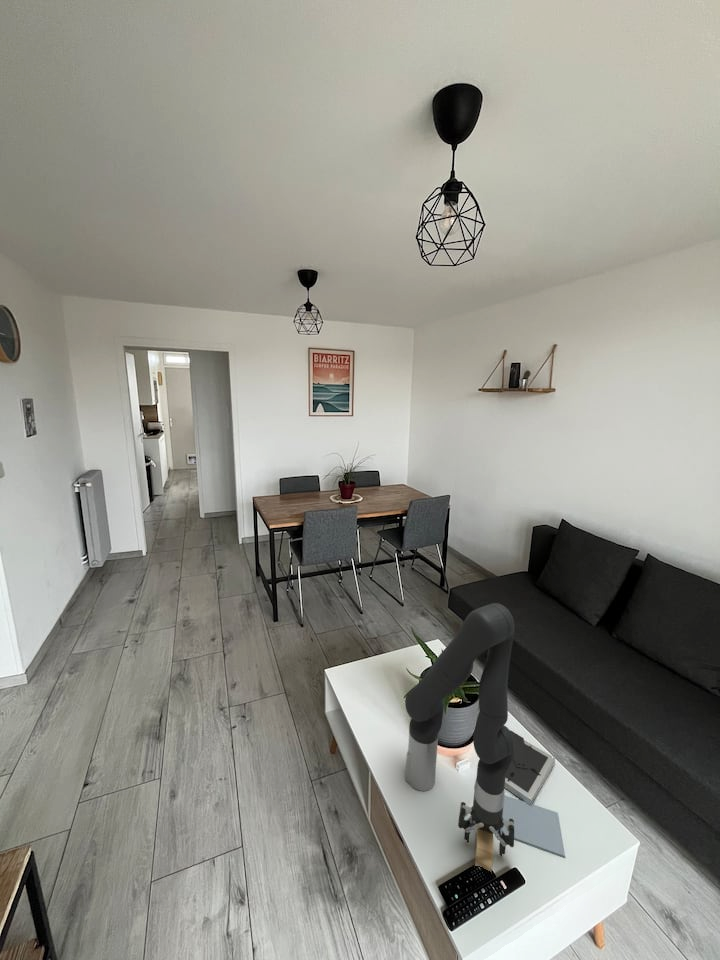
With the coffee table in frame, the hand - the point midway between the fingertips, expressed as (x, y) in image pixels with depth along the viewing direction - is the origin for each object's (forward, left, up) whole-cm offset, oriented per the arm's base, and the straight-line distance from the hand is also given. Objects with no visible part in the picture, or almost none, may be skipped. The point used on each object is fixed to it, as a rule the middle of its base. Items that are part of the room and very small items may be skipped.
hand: (484, 846), depth 102 cm
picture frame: (+11, +30, -2) cm, 32 cm away
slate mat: (+13, +12, -2) cm, 18 cm away
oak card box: (0, 0, -2) cm, 2 cm away
